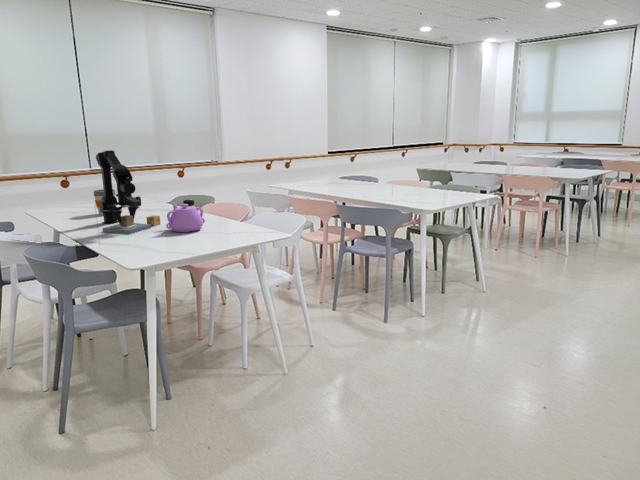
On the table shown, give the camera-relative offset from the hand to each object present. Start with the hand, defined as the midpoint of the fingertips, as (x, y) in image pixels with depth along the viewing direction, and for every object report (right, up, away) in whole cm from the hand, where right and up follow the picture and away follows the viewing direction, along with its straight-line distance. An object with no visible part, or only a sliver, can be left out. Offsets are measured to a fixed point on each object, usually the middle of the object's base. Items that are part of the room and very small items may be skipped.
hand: (126, 221), depth 260 cm
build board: (0, -4, +1) cm, 4 cm away
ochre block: (+10, -2, +13) cm, 16 cm away
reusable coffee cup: (-32, +6, +50) cm, 60 cm away
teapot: (+31, -4, 0) cm, 31 cm away
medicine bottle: (+27, +1, +25) cm, 37 cm away
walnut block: (0, -2, 0) cm, 2 cm away
